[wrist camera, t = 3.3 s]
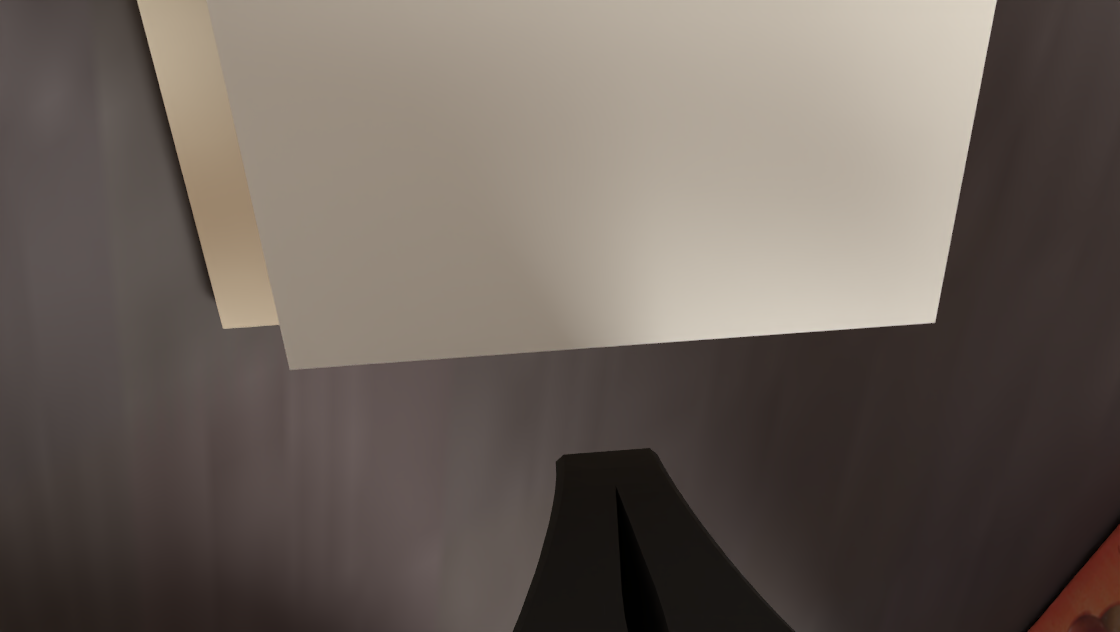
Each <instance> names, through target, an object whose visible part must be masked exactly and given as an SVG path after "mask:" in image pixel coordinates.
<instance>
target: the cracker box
mask: <svg viewBox="0 0 1120 632" xmlns="http://www.w3.org/2000/svg"><path fill="white" fill-rule="evenodd" d="M1028 632H1120V524H1119V525H1118V526H1117V528H1116V529H1115V530H1114V531H1113V532H1112V533H1111V535H1110V536H1109V537H1108V538H1107V539H1106V540H1105V542H1104V543H1103V544H1102V545H1101V546H1100V547H1099V549H1098V550H1097V551H1096V552H1095V553H1094V554H1093V556H1092V557H1091V558H1090V559H1089V561H1088V562H1087V563H1086V564H1085V565H1084V566H1083V568H1082V569H1081V570H1080V571H1079V572H1078V573H1077V574H1076V575H1075V576H1074V578H1073V579H1072V580H1071V581H1070V582H1069V584H1068V585H1067V586H1066V587H1065V588H1064V590H1063V591H1062V592H1061V593H1060V595H1059V596H1058V597H1057V598H1056V599H1055V601H1054V602H1053V603H1052V604H1051V605H1050V606H1049V607H1048V609H1047V610H1046V611H1045V612H1044V613H1043V615H1042V616H1041V617H1040V618H1039V619H1038V621H1037V622H1036V623H1035V624H1034V625H1033V626H1032V627H1031V628H1030V629H1029V630H1028Z"/></svg>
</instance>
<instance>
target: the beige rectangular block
mask: <svg viewBox="0 0 1120 632" xmlns="http://www.w3.org/2000/svg"><path fill="white" fill-rule="evenodd" d="M206 1H207V6H208V10H209V14H210V19H211V23H212V28H213V32H214V37H215V41H216V45H217V50H218V54H219V59H220V63H221V68H222V72H223V76H224V81H225V85H226V90H227V94H228V99H229V103H230V107H231V112H232V116H233V121H234V125H235V130H236V134H237V138H238V143H239V147H240V152H241V156H242V161H243V165H244V169H245V174H246V178H247V183H248V187H249V192H250V196H251V200H252V205H253V209H254V214H255V218H256V223H257V227H258V231H259V236H260V240H261V245H262V249H263V254H264V258H265V262H266V267H267V271H268V276H269V280H270V285H271V289H272V293H273V298H274V302H275V307H276V311H277V316H278V320H279V324H280V329H281V333H282V338H283V342H284V347H285V351H286V355H287V360H288V364H289V369H290V370H295V369H309V368H323V367H336V366H350V365H364V364H377V363H391V362H405V361H418V360H432V359H446V358H460V357H473V356H487V355H501V354H514V353H528V352H542V351H556V350H569V349H583V348H597V347H610V346H624V345H638V344H651V343H665V342H679V341H693V340H706V339H720V338H734V337H747V336H761V335H775V334H789V333H802V332H816V331H830V330H843V329H857V328H871V327H884V326H898V325H912V324H926V323H935V321H936V315H937V310H938V305H939V300H940V294H941V289H942V284H943V279H944V274H945V268H946V263H947V258H948V253H949V247H950V242H951V237H952V232H953V226H954V221H955V216H956V211H957V206H958V200H959V195H960V190H961V185H962V179H963V174H964V169H965V164H966V159H967V153H968V148H969V143H970V138H971V132H972V127H973V122H974V117H975V111H976V106H977V101H978V96H979V91H980V85H981V80H982V75H983V70H984V64H985V59H986V54H987V49H988V43H989V38H990V33H991V28H992V23H993V17H994V12H995V7H996V2H997V0H206Z"/></svg>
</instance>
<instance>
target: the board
mask: <svg viewBox="0 0 1120 632" xmlns="http://www.w3.org/2000/svg"><path fill="white" fill-rule="evenodd" d="M137 2H138V6H139V10H140V14H141V18H142V21H143V25H144V29H145V33H146V37H147V40H148V44H149V48H150V52H151V56H152V59H153V63H154V67H155V71H156V75H157V79H158V82H159V86H160V90H161V94H162V98H163V101H164V105H165V109H166V113H167V117H168V120H169V124H170V128H171V132H172V136H173V140H174V143H175V147H176V151H177V155H178V159H179V162H180V166H181V170H182V174H183V178H184V181H185V185H186V189H187V193H188V197H189V200H190V204H191V208H192V212H193V216H194V220H195V223H196V227H197V231H198V235H199V239H200V242H201V246H202V250H203V254H204V258H205V261H206V265H207V269H208V273H209V277H210V281H211V284H212V288H213V292H214V296H215V300H216V303H217V307H218V311H219V315H220V319H221V322H222V326H223V329H226V328H240V327H254V326H269V325H280V324H279V320H278V316H277V311H276V307H275V302H274V298H273V293H272V289H271V285H270V280H269V276H268V271H267V267H266V262H265V258H264V254H263V249H262V245H261V240H260V236H259V231H258V227H257V223H256V218H255V214H254V209H253V205H252V200H251V196H250V192H249V187H248V183H247V178H246V174H245V169H244V165H243V161H242V156H241V152H240V147H239V143H238V138H237V134H236V130H235V125H234V121H233V116H232V112H231V107H230V103H229V99H228V94H227V90H226V85H225V81H224V76H223V72H222V68H221V63H220V59H219V54H218V50H217V45H216V41H215V37H214V32H213V28H212V23H211V19H210V14H209V10H208V6H207V1H206V0H137Z"/></svg>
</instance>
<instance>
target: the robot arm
mask: <svg viewBox="0 0 1120 632" xmlns="http://www.w3.org/2000/svg"><path fill="white" fill-rule="evenodd" d="M513 632H795V631H794V630H793V629H792V628H791V627H790V626H789V625H788V624H787V623H786V622H785V621H784V620H783V619H782V618H781V617H780V616H779V615H778V614H777V613H776V612H775V611H774V610H773V608H772V607H771V606H770V605H769V604H768V603H767V602H766V601H765V600H764V599H763V598H762V597H761V596H760V594H759V593H758V592H757V591H756V590H755V589H754V588H753V586H752V585H751V584H750V583H749V582H748V581H747V580H746V579H745V577H744V576H743V575H742V574H741V573H740V572H739V570H738V569H737V568H736V567H735V566H734V564H733V563H732V562H731V561H730V560H729V558H728V557H727V556H726V555H725V553H724V552H723V551H722V549H721V548H720V547H719V546H718V544H717V543H716V542H715V540H714V539H713V538H712V537H711V535H710V534H709V533H708V531H707V530H706V529H705V527H704V526H703V525H702V523H701V522H700V521H699V519H698V518H697V517H696V515H695V514H694V512H693V511H692V510H691V508H690V507H689V505H688V504H687V502H686V501H685V499H684V498H683V496H682V495H681V493H680V492H679V490H678V489H677V487H676V486H675V484H674V483H673V481H672V479H671V478H670V476H669V475H668V473H667V471H666V469H665V468H664V466H663V464H662V462H661V461H660V459H659V457H658V455H657V454H656V453H655V452H654V451H652V450H651V449H650V448H646V449H633V450H620V451H606V452H593V453H580V454H567V455H563V456H562V457H561V458H560V459H558V460H557V461H556V487H555V495H554V501H553V507H552V512H551V517H550V521H549V526H548V529H547V533H546V537H545V540H544V544H543V548H542V551H541V555H540V558H539V562H538V565H537V568H536V571H535V574H534V577H533V580H532V582H531V585H530V588H529V591H528V594H527V596H526V599H525V602H524V605H523V607H522V610H521V613H520V615H519V618H518V620H517V623H516V625H515V627H514V630H513Z"/></svg>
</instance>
